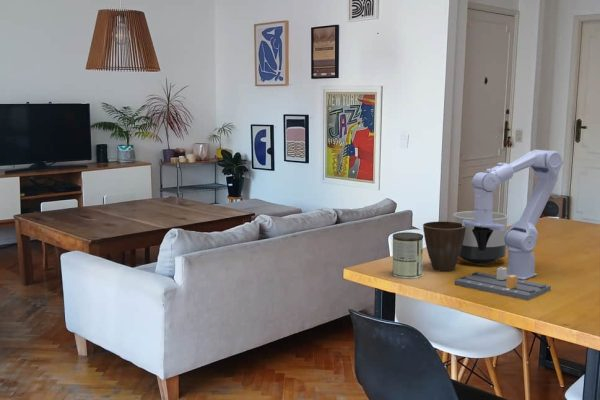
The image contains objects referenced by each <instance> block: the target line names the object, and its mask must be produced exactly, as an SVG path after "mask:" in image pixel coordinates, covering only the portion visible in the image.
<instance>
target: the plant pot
mask: <svg viewBox="0 0 600 400" xmlns="http://www.w3.org/2000/svg"><path fill="white" fill-rule="evenodd" d="M422 227H423V228H422V229H423V238H424V241H425V246H426V251H427V254H428V258H429V260H430V264H431V266H432V269H433V270H435V271H438V270H440V272H450V271H451V270H452V271H454V270H455V268H456V267H457V262H458V260H459V258H460V257H459V255H460V252H461V248H462V245H463V240H464V236H465V230H466V226H462V223H457V222H453V221H429V222H424V223H423V224H422ZM452 271H451V272H452Z"/></svg>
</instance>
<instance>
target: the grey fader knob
mask: <svg viewBox="0 0 600 400" xmlns="http://www.w3.org/2000/svg"><path fill="white" fill-rule="evenodd" d="M507 273H508V267H503V266H500V267H498V268H496V275H497V278H496V279H498V280H504V279H507Z"/></svg>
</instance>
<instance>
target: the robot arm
mask: <svg viewBox="0 0 600 400" xmlns="http://www.w3.org/2000/svg"><path fill="white" fill-rule="evenodd" d="M563 163H564V161H563V158H562V156H561V153H560V152H559V151H557V150H545V149H536V148H535V149H533V150H531V151H528V152H526V154H524V155H523V156H521V157H519V158H517V159H516V160H514V161H512V162H510V163H506V162H498V163H496V166H493V167H491V168H486V170H485V171H484V172H482V171H481V172H477V173H476V174H474V176H473V178H472V180H471V182H470V183H471V186H472V188H473V194H474V206H473V207H474V210H473V211H474V220H462V226H469V227H474V229H472V232H473V234H474V236H475V238H476V241H477V244H478V249H479V250H480V251H484V250H485V249H486V245H487V242H488V240H489V238H490V236H491V234H492V232H493V230H498V231H505V225H502V224H497V223H493V222H492V212H494V210H493V208H494V207H493V206H494V191H495V190H496V189H497V188H498V186H499V185H501V184H503V183H505V182H507V181H509V180H511V179H513V176H514V174H516V173H518V172H521V171H522V170H525V169H527V168H530V167H531V169H532V171H533V172H534V173H535V175H536V176H537V177H538V180H537V183H536V185H535V186H534V189H533V191H532V193H531V195H530V198H529V200H528V202H527V203H526V205H525V208H524V210H523V211H522V214H521V216H520V218H519V220H517V221H515V222H514V223H512V224H511V226H510V227H509V228H508V229H507V232H506V233H505V235H504V242H505V244H506V250H508V251H507V254H508V255H507V276H509V275H515V276H517V279H518V280H523V281H526V280H528V279H529V278H532V277H535V276H537V275H538V274H537V273H536V272H535V267H536V266H535V263H536V261H535V260H536V256H535V253H534V252H533V250H534V249H535V248H536V245H537V239H538V237H539V232H538V230H537V228H536V227H537V224H538V221H540V220H539V219H540V217H541V216H542V213H543V211H544V209H545V207H546V205H547V202H548V201H549V199H550V196H551V195H552V193H553V190H554V188H555V186H556V183H557V182H558V179H559V178H558V177H559V172H560V170H561V168H562V166H563ZM482 226H483V227H482Z"/></svg>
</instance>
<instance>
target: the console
mask: <svg viewBox="0 0 600 400" xmlns="http://www.w3.org/2000/svg"><path fill="white" fill-rule="evenodd" d="M496 278H497V274H491V273H486V272H481V271H479V272H476V271H474V272H473V273H471V274H469V275H466V276H465V275H464V276H460V277H459V278H458V279H454V285H455V286H458V285H459V286H458V287H463V286H464V287H463V288H468V289H472V290H477V291H483V292H487V293H492V294H496V295H502V296H507V297H511V298H514V299H515V298H516V299H520V300H524V301H530V300H532V299H534V298H536V297H538V296H541V295H543V294H546V293H548V292H550V291H551V287H552V286H551V285H549V284H544V283H538V282H532V281H528V280H522V279H517V287H516V288H513V289H511V288H506V282H507V279H504V280H498V279H496Z"/></svg>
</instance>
